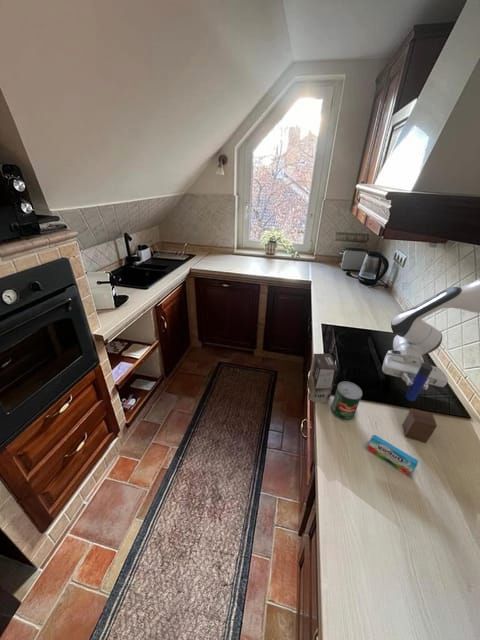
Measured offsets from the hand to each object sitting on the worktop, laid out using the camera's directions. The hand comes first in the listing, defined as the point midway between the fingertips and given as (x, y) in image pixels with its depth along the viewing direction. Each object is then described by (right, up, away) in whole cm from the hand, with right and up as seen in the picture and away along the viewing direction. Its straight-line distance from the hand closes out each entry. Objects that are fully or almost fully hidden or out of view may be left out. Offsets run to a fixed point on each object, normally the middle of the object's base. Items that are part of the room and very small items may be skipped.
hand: (417, 386), depth 88 cm
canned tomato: (-25, -10, +3) cm, 27 cm away
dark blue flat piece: (-1, -5, -1) cm, 5 cm away
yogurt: (-18, -19, -12) cm, 29 cm away
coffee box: (-32, -6, +10) cm, 34 cm away
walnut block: (-4, -15, -4) cm, 16 cm away
